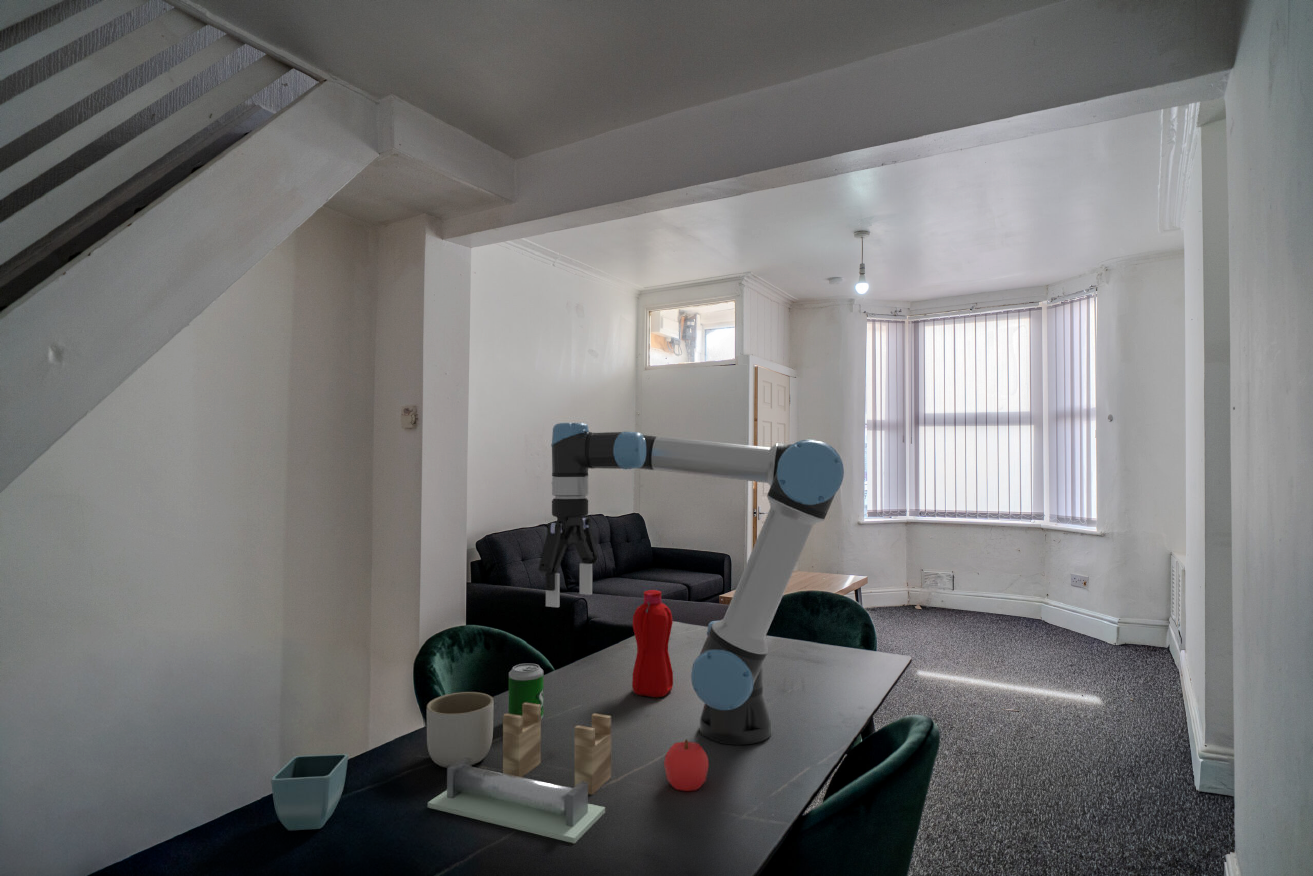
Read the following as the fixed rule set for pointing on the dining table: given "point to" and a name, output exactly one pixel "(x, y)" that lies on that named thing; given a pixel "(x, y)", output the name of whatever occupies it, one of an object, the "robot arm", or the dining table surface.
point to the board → (516, 815)
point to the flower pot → (309, 790)
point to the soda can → (525, 687)
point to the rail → (518, 790)
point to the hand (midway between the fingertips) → (570, 600)
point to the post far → (522, 740)
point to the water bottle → (652, 647)
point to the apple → (686, 766)
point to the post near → (593, 752)
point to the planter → (459, 727)
